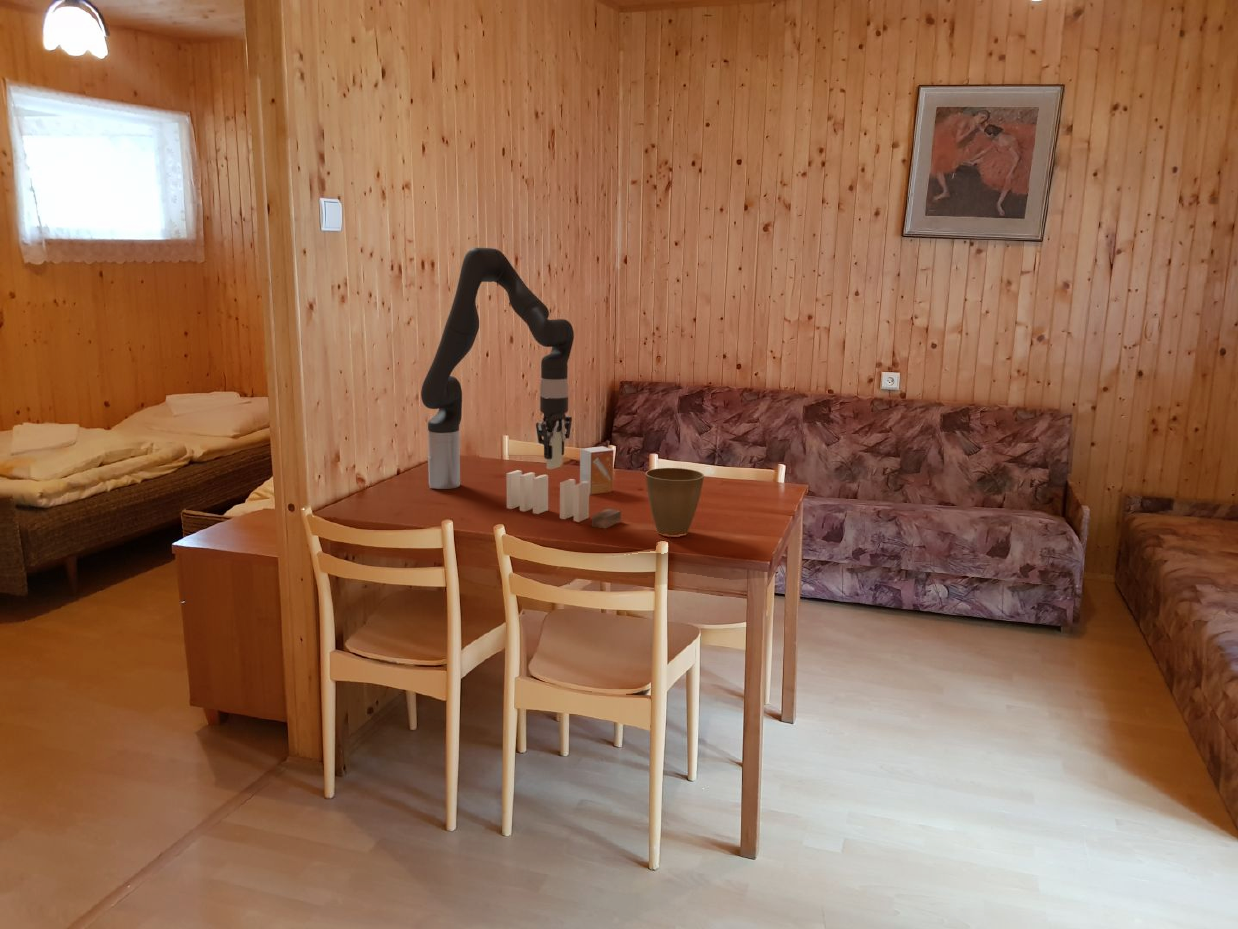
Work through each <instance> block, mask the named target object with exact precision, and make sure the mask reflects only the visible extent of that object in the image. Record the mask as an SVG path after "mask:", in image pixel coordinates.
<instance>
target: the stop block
mask: <svg viewBox="0 0 1238 929" xmlns="http://www.w3.org/2000/svg"><path fill="white" fill-rule="evenodd" d="M621 518H622V511H621V510H617V509H613V508H607V509H604V510H601V511H599V512H596V513H595V514H592V515H591V527H593V528H597V529H603V528H604V530H605V528H606V529H607V528H610V527H612V526H614V524H615V523H617V522H619V521H621V520H622V519H621ZM621 522H622V521H621ZM619 523H620V522H619ZM617 524H618V523H617ZM615 525H616V524H615Z"/></svg>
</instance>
